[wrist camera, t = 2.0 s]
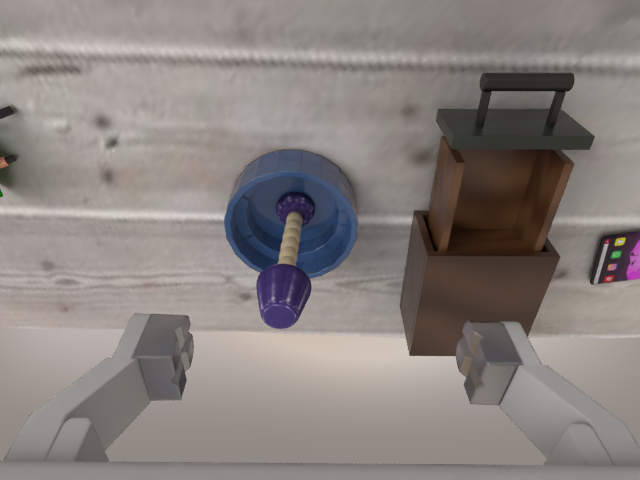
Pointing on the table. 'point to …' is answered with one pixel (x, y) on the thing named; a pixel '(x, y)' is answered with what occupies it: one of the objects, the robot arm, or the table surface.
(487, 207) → the drawer
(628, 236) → the smartphone
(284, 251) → the toy lamp
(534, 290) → the cabinet
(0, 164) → the stick construction toy
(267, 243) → the bowl
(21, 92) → the table surface
